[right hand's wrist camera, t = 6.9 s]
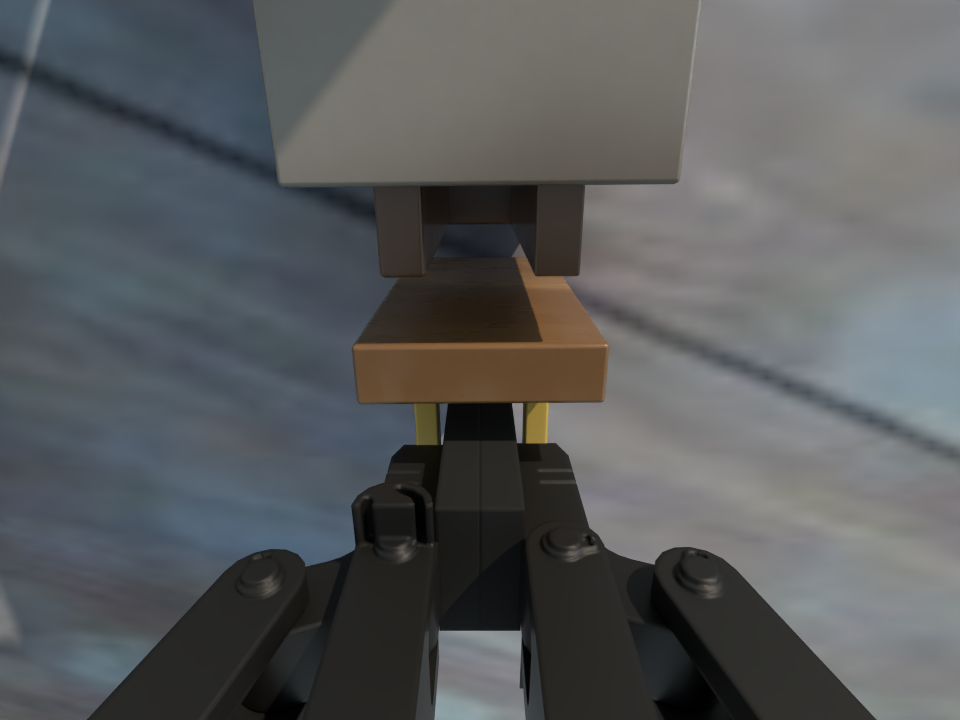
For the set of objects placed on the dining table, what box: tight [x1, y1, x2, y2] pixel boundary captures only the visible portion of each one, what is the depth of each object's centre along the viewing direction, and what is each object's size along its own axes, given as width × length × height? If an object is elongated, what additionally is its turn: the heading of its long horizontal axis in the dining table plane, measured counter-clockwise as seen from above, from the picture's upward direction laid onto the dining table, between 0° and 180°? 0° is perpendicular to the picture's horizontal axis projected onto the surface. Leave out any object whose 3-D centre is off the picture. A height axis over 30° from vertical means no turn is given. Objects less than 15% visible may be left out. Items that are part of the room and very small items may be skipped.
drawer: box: [352, 185, 609, 445], centre depth 11 cm, size 25×5×9 cm, turn 0°
